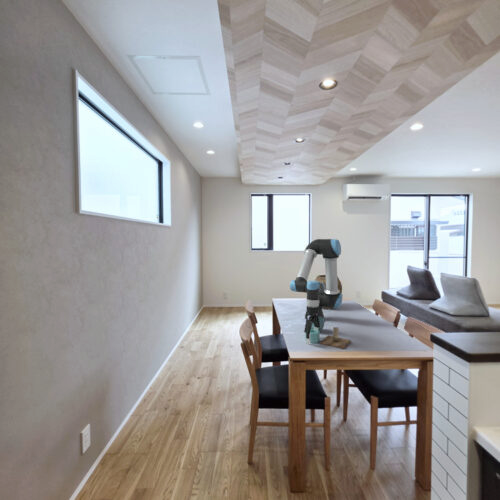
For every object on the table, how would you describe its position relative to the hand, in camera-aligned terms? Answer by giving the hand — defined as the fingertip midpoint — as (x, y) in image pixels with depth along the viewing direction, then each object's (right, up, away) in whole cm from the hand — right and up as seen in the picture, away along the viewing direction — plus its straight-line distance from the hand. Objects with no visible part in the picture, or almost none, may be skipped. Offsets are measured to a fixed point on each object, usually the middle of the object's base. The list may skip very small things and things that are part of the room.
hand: (312, 340), depth 168 cm
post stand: (+14, 0, -3) cm, 14 cm away
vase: (+33, +2, +84) cm, 91 cm away
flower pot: (+7, 0, +18) cm, 20 cm away
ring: (0, 0, 0) cm, 0 cm away
